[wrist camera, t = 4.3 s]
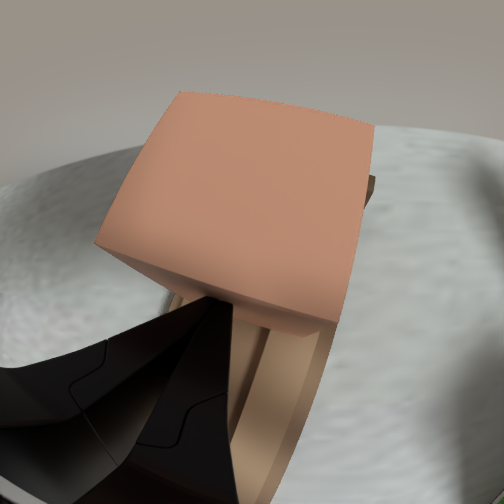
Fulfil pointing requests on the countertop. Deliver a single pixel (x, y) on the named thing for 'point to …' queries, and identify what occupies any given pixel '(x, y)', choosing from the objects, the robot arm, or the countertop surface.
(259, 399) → the wooden slide track
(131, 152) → the countertop surface
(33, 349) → the countertop surface
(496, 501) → the skincare box
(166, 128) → the block
